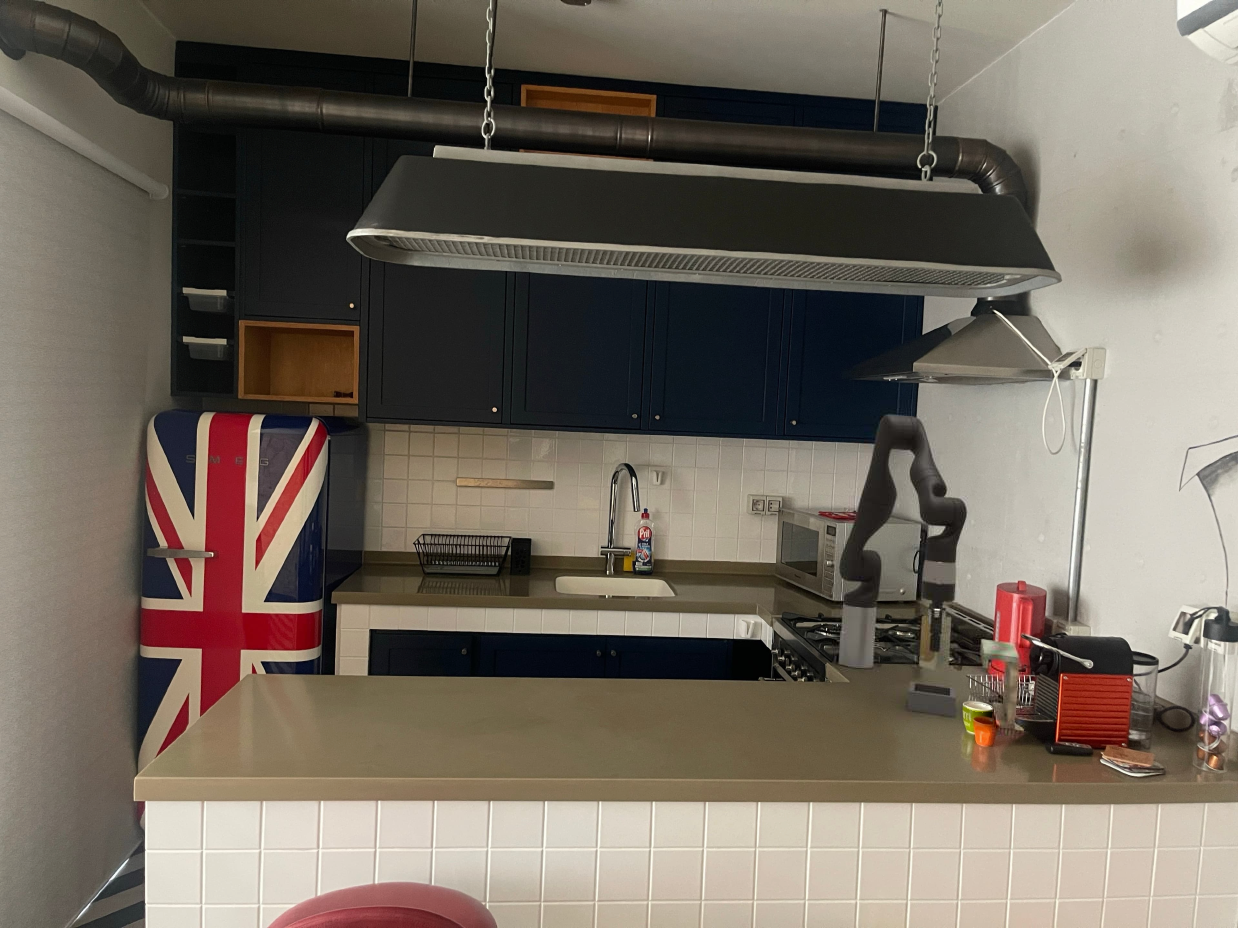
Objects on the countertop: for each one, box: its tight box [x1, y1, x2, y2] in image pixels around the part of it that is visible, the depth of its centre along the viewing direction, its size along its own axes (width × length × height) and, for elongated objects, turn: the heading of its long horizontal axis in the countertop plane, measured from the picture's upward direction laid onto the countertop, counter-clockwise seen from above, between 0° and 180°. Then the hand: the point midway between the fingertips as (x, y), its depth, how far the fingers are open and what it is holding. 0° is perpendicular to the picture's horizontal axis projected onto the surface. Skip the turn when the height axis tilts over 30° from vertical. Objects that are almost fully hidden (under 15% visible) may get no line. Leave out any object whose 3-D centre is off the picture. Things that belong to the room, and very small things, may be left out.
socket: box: [907, 681, 957, 718], centre depth 207 cm, size 10×10×4 cm
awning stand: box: [979, 638, 1025, 732], centre depth 202 cm, size 10×18×16 cm, turn 159°
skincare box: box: [918, 614, 952, 671], centre depth 207 cm, size 6×4×12 cm
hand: (934, 648), depth 207 cm, fingers closed on skincare box, 7 cm apart
